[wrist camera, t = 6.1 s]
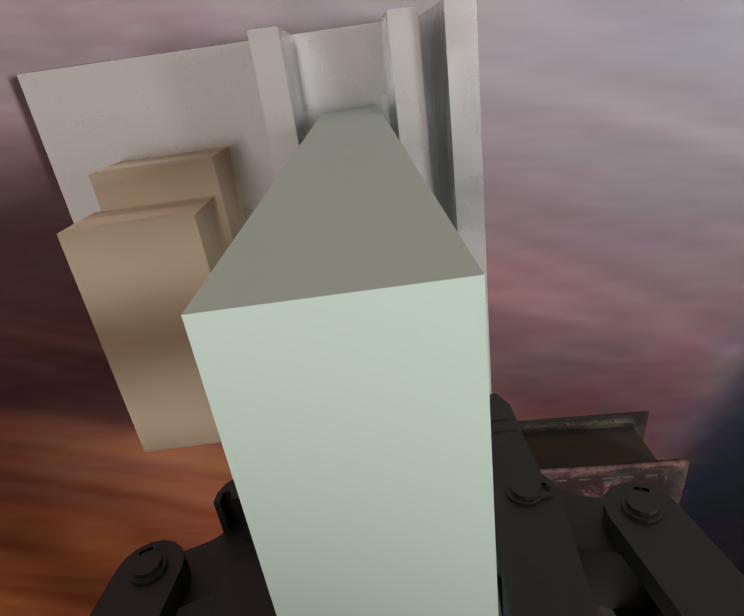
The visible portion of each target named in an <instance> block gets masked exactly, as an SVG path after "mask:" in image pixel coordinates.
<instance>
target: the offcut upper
mask: <svg viewBox="0 0 744 616" xmlns="http://www.w3.org/2000/svg"><path fill="white" fill-rule="evenodd" d="M57 236H58V239H59V241H60V244H61V246H62V249H63V251H64V254H65V256H66V259H67V261H68V263H69V266H70V268H71V271H72V273H73V276H74V278H75V281H76V283H77V286H78V288H79V291H80V293H81V296H82V298H83V301H84V303H85V306H86V308H87V311H88V313H89V315H90V318H91V320H92V323H93V325H94V328H95V330H96V333H97V335H98V338H99V340H100V343H101V345H102V348H103V350H104V353H105V355H106V358H107V360H108V362H109V365H110V367H111V370H112V372H113V375H114V377H115V380H116V382H117V385H118V387H119V390H120V392H121V395H122V397H123V400H124V402H125V405H126V407H127V410H128V412H129V414H130V417H131V419H132V422H133V424H134V427H135V429H136V432H137V434H138V437H139V439H140V442H141V444H142V447H143V449H144V452H148V451H155V450H163V449H171V448H179V447H187V446H194V445H202V444H210V443H218V442H221V439H220V436H219V433H218V429H217V426H216V423H215V420H214V417H213V414H212V411H211V407H210V404H209V401H208V398H207V395H206V392H205V389H204V385H203V382H202V379H201V376H200V373H199V370H198V367H197V363H196V360H195V357H194V354H193V351H192V348H191V345H190V341H189V338H188V335H187V332H186V329H185V326H184V322H183V319H182V316H181V314H182V313H183V312H184V310H185V309H186V307H187V306H188V304H189V303H190V302H191V300H192V299H193V297H194V296H195V294H196V293H197V292H198V290H199V289H200V287H201V286H202V284H203V283H204V282H205V280H206V279H207V277H208V276H209V274H210V273H211V272H212V270H213V269H214V267H215V266H216V264H217V263H218V262H219V260H220V259H221V257H222V256H223V254H224V253H225V252H226V250H227V249H228V246H227V242H226V238H225V235H224V231H223V227H222V223H221V219H220V215H219V212H218V208H217V204H216V200H215V196H209V197H201V198H194V199H187V200H180V201H173V202H165V203H158V204H151V205H144V206H137V207H129V208H122V209H115V210H108V211H101V212H94V213H92V214H91V215H89V216H87V217H85V218H84V219H82V220H80V221H78V222H77V223H75V224H73V225H71V226H69V227H68V228H66V229H64V230H62V231H61V232H59V233H57Z"/></svg>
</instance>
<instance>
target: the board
mask: <svg viewBox="0 0 744 616" xmlns="http://www.w3.org/2000/svg"><path fill="white" fill-rule="evenodd" d="M181 316H182V319H183V322H184V326H185V329H186V332H187V335H188V338H189V341H190V345H191V348H192V351H193V354H194V357H195V360H196V363H197V367H198V370H199V373H200V376H201V379H202V382H203V385H204V389H205V392H206V395H207V398H208V401H209V404H210V407H211V411H212V414H213V417H214V420H215V423H216V426H217V429H218V433H219V436H220V439H221V442H222V445H223V448H224V452H225V455H226V458H227V461H228V464H229V467H230V470H231V474H232V477H233V480H234V483H235V486H236V489H237V492H238V496H239V499H240V502H241V505H242V508H243V511H244V514H245V518H246V521H247V524H248V527H249V530H250V533H251V536H252V540H253V543H254V546H255V549H256V552H257V555H258V559H259V562H260V565H261V568H262V571H263V574H264V577H265V581H266V584H267V587H268V590H269V593H270V596H271V599H272V603H273V606H274V609H275V612H276V615H277V616H499V613H498V589H497V565H496V541H495V516H494V492H493V468H492V443H491V419H490V395H489V370H488V346H487V322H486V297H485V275H484V273H483V271H482V270H481V268H480V267H479V265H478V264H477V262H476V260H475V259H474V257H473V256H472V254H471V253H470V251H469V249H468V248H467V246H466V245H465V243H464V242H463V240H462V238H461V237H460V235H459V234H458V232H457V230H456V229H455V227H454V226H453V224H452V223H451V221H450V219H449V218H448V216H447V215H446V213H445V212H444V210H443V208H442V207H441V205H440V204H439V202H438V201H437V199H436V197H435V196H434V194H433V193H432V191H431V190H430V188H429V186H428V185H427V183H426V182H425V180H424V178H423V177H422V175H421V174H420V172H419V171H418V169H417V167H416V166H415V164H414V163H413V161H412V160H411V158H410V156H409V155H408V153H407V152H406V150H405V149H404V147H403V145H402V144H401V142H400V141H399V139H398V138H397V136H396V134H395V133H394V131H393V130H392V128H391V127H390V125H389V123H388V122H387V120H386V119H385V117H384V115H383V114H382V112H381V111H380V109H379V108H378V106H373V107H366V108H359V109H352V110H345V111H338V112H330V113H323V114H321V116H320V117H319V119H318V120H317V121H316V123H315V124H314V126H313V127H312V129H311V130H310V131H309V133H308V134H307V136H306V137H305V139H304V140H303V141H302V143H301V144H300V146H299V147H298V149H297V150H296V151H295V153H294V154H293V156H292V157H291V159H290V160H289V161H288V163H287V164H286V166H285V167H284V169H283V170H282V171H281V173H280V174H279V176H278V177H277V179H276V180H275V181H274V183H273V184H272V186H271V187H270V189H269V190H268V191H267V193H266V194H265V196H264V197H263V199H262V200H261V201H260V203H259V204H258V206H257V207H256V209H255V210H254V212H253V213H252V214H251V216H250V217H249V219H248V220H247V222H246V223H245V224H244V226H243V227H242V229H241V230H240V232H239V233H238V234H237V236H236V237H235V239H234V240H233V242H232V243H231V244H230V246H229V247H228V249H227V250H226V252H225V253H224V254H223V256H222V257H221V259H220V260H219V262H218V263H217V264H216V266H215V267H214V269H213V270H212V272H211V273H210V274H209V276H208V277H207V279H206V280H205V282H204V283H203V284H202V286H201V287H200V289H199V290H198V292H197V293H196V294H195V296H194V297H193V299H192V300H191V302H190V303H189V304H188V306H187V307H186V309H185V310H184V312H183V313H182V314H181Z"/></svg>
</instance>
